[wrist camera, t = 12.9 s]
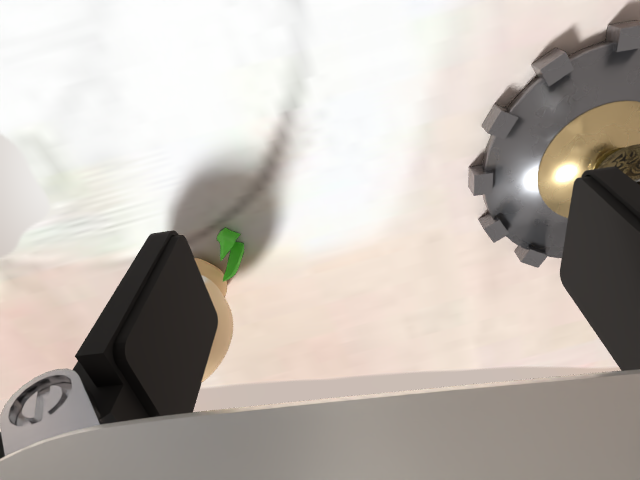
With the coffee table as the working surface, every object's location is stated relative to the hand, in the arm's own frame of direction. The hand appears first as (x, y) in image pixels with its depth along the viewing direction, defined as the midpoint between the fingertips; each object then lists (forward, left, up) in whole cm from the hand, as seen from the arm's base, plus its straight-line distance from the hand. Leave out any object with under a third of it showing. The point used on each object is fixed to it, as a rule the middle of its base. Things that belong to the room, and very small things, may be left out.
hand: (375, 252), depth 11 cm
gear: (+13, +21, -28) cm, 37 cm away
